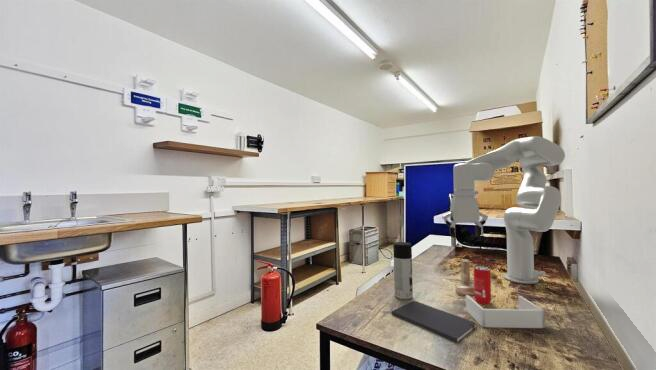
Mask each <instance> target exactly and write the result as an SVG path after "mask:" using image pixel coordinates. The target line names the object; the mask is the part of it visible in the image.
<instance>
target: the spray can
mask: <svg viewBox="0 0 656 370" xmlns="http://www.w3.org/2000/svg"><path fill="white" fill-rule="evenodd" d="M412 250H413V249H412V243H411V242H407V241H405V242H404V241H396V242H394V243H393V281H394V283H393V284H394V286H393V287H394V296H395V297H396V298H397V299H399V300H406V301H407V300H411V299H413V293H414V291H413V254H412V253H413V252H412Z"/></svg>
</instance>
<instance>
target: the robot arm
mask: <svg viewBox="0 0 656 370" xmlns="http://www.w3.org/2000/svg"><path fill="white" fill-rule="evenodd" d="M565 158H566V154H565V151H564V149H563V148H562V147H561V145H559V144H557V143H555V142H553V141H551V140H549V139H547V138H545V137H543V136H538V135H537V136H536V135H532V136H528V137H521V138H516V139H513V140H511V141H510V142H507V143H506V144H504V145H502V146H501V147H499V148H497V149H494V150H493V151H490V152H488V153H485V154H482V155H480V156H477V157H475V158H473V159H470V160H468V161H466V162H464V163H457V164H456V163H455V164H454V165H453V170H452V171H453V173H452V174H453V197H451V200H450V207H449V208H450V209H449V212H448V213H446V214H444V215H443V216H442V217H441V218H442V221H444V223H445V225H446V226H447V227H449V236H450V237H451V238H453V239H454V238H456V227H455V225H456V224H474V225H475V226H474V236H475V237H476V238H481V235H482V228H483V226H484V225H485V224H486V222H487V220H488V218H489V216H488V215H486V214H484V213H482V212H480V207H479V201H478V199H477V197H476V196H477V195H479V191H478V190H477V191H476V189H475V187H476V186H475V184H476V183H475V182H480V183H481V182H488V181H490V180H492V179H493V178H494V176H495V173H496V171H498V170H501V169H506V168H508V167H509V166H511V165H513V164H514V163H516V162H518V163H519V164H520V167H521V170H522V172H523V177H522V178H523V179H522V181H521V184H520V186H519V188H518V191H517V194H516V196H515V202H516V204H517V205H519V206H513V207H509V208H507V209H506V210H505V211H504V212H503V222H504V226H505V231H506V258H507V259H506V261H507V264H506V265H507V266H506V267H507V272H504V273H503V274H502V275H503V278H504V279H506V280H508V281H511V282H515V283H517V284H518V283H519V284H523V285H524V284H525V285H534V284H535V285H536V284H538V283H539V278H538V277H546V276H547V273H546V272H545V271H544V270H542V271H541V270H540V271H539V270H537V269H535V267H534V266H535V263H534V261H535V258H534V257H535V256H534V238H533V236H532V234H531V233H530V231H532V232H538V233H541V232H542V233H544V232H547V231H549V230H550V229H551V228H552V226H553V224H554V222H555V219H556V217H557V214H558V211H559V209H560V206H561V202H562V194H561V192H560V190H559V189H558V188H556V187H554V186H551V185H546V184H547V182H548V180H547V179H548V178H547V175H546V174H545V173H544V172H543V170H542V169H541V168H540V167H553V166H558V165H560V164H562V163H563V162H564V160H565ZM480 218H481V219H480Z"/></svg>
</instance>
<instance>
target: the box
mask: <svg viewBox="0 0 656 370" xmlns="http://www.w3.org/2000/svg"><path fill="white" fill-rule="evenodd" d="M517 301H518V302H517V303H518V305H517V306H518V309H517V308H483V307H482V306H481V304H480V303H478V302H476V300H475V299H473V298H472V297H471V295H465V311H466V312H467V313H468V314H469V315H470V316H471V317H472V318H473V320H475V321H476V323H478V324H479V325H480V326H481V327H482V328H502V329H503V328H504V329H505V328H506V329H507V328H508V329H509V328H510V329H511V328H512V329H515V328H516V329H517V328H518V329H519V328H520V329H546V310H545V309H543V308H541V307H539V306H538V305H536V304H534V303H533V302H531V301H530V300H528V299H527V298H525V297H523V296H522V295H517Z"/></svg>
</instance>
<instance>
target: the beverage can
mask: <svg viewBox="0 0 656 370" xmlns="http://www.w3.org/2000/svg"><path fill="white" fill-rule="evenodd" d="M491 273H492V272H491V270H490V268H489V267H487V266H483V265H482V266H481V265H477V266H474V268H473V286H474V296H473V297H474V301H475V302H476V303H478V304H479V305H490V304H491V301H492V287H491V286H492V283H491V282H492V280H491V276H492V275H491Z"/></svg>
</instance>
